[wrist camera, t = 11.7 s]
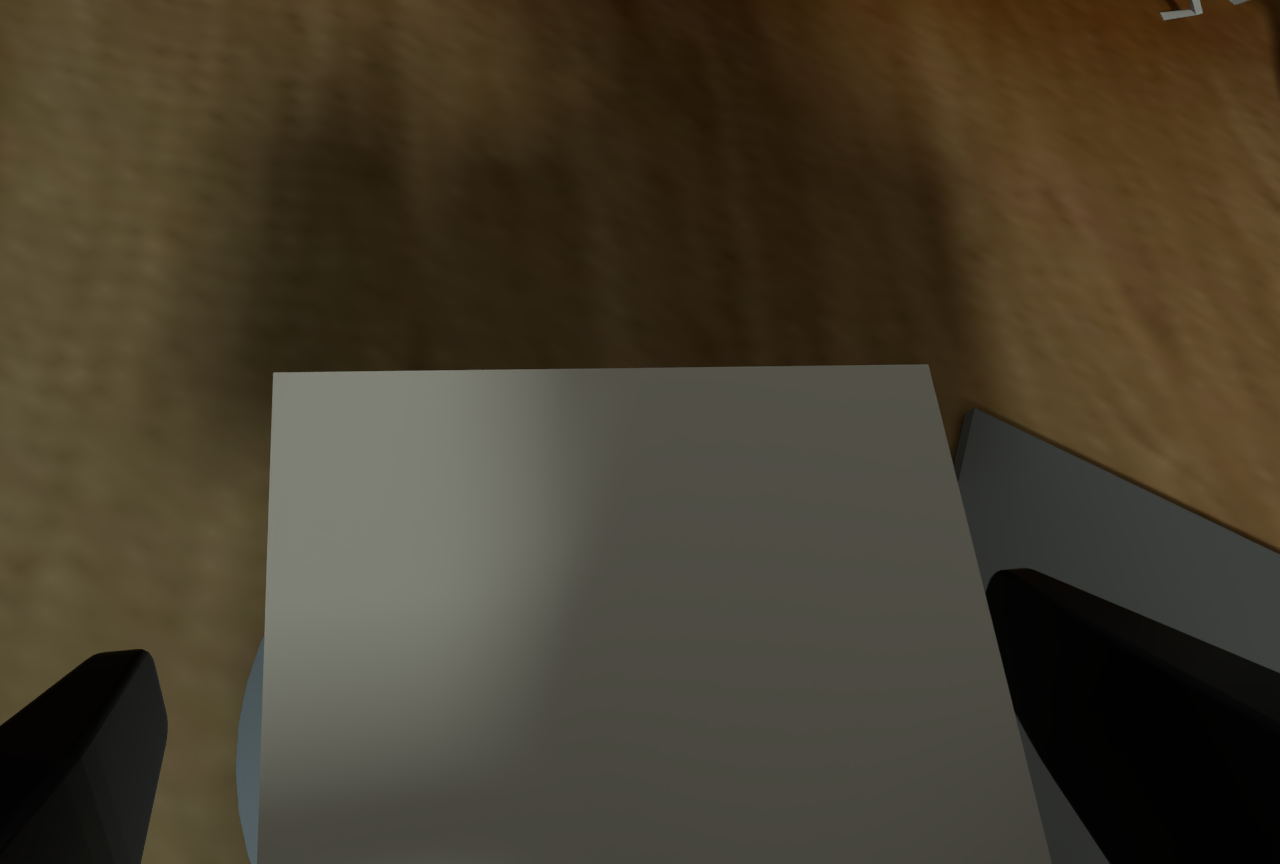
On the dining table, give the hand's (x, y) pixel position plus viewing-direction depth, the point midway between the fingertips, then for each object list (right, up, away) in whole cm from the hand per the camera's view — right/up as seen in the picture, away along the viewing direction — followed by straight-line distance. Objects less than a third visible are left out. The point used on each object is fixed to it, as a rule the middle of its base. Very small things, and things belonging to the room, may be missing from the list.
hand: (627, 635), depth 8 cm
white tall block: (-2, -3, +7) cm, 8 cm away
